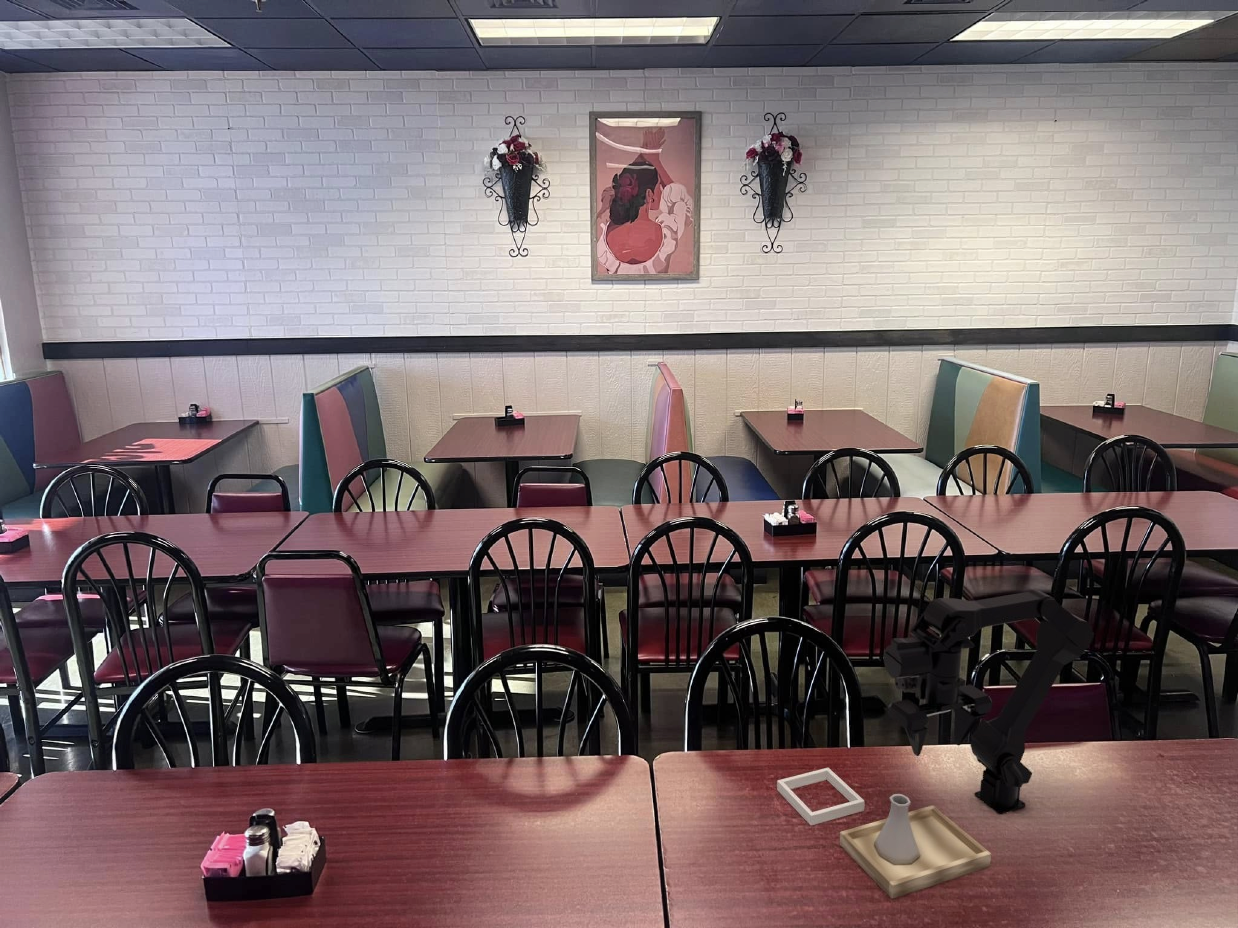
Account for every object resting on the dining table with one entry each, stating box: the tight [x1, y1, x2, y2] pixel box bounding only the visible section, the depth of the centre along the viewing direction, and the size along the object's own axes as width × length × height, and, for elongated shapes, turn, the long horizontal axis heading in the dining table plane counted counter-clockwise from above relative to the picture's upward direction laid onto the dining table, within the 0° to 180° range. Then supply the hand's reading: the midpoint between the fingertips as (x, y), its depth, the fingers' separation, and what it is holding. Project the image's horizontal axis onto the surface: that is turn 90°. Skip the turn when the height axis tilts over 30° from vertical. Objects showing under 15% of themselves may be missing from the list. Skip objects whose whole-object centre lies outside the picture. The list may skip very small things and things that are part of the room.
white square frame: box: [776, 767, 866, 826], centre depth 156 cm, size 12×12×2 cm
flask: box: [874, 793, 920, 864], centre depth 140 cm, size 7×7×10 cm
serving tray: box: [839, 804, 992, 900], centre depth 141 cm, size 20×14×2 cm
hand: (936, 749), depth 150 cm, fingers open, 9 cm apart
